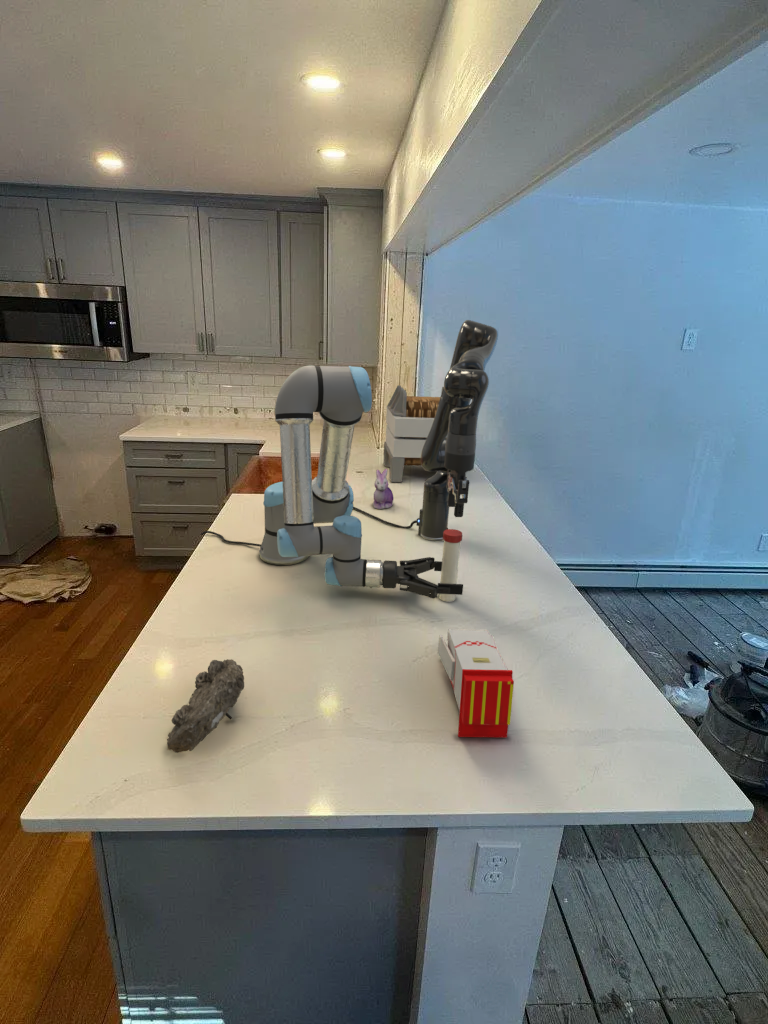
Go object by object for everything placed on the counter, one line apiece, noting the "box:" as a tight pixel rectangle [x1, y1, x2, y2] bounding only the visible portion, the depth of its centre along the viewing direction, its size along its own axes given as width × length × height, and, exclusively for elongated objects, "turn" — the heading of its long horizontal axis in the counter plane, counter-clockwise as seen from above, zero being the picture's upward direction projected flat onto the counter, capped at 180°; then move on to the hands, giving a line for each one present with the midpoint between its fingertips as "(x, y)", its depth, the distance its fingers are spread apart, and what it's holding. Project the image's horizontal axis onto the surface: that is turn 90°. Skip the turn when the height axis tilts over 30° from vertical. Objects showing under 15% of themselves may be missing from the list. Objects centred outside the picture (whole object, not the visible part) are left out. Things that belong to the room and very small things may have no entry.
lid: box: [442, 528, 463, 543], centre depth 151 cm, size 5×5×2 cm
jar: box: [438, 540, 462, 603], centre depth 154 cm, size 4×4×19 cm
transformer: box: [383, 384, 447, 483], centre depth 268 cm, size 34×33×41 cm
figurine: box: [372, 468, 394, 510], centre depth 225 cm, size 9×10×15 cm
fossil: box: [166, 658, 245, 754], centre depth 106 cm, size 22×10×15 cm
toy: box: [437, 628, 515, 738], centre depth 117 cm, size 12×13×30 cm
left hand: (460, 577), depth 154 cm, fingers open, 13 cm apart
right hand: (454, 511), depth 148 cm, fingers open, 7 cm apart
